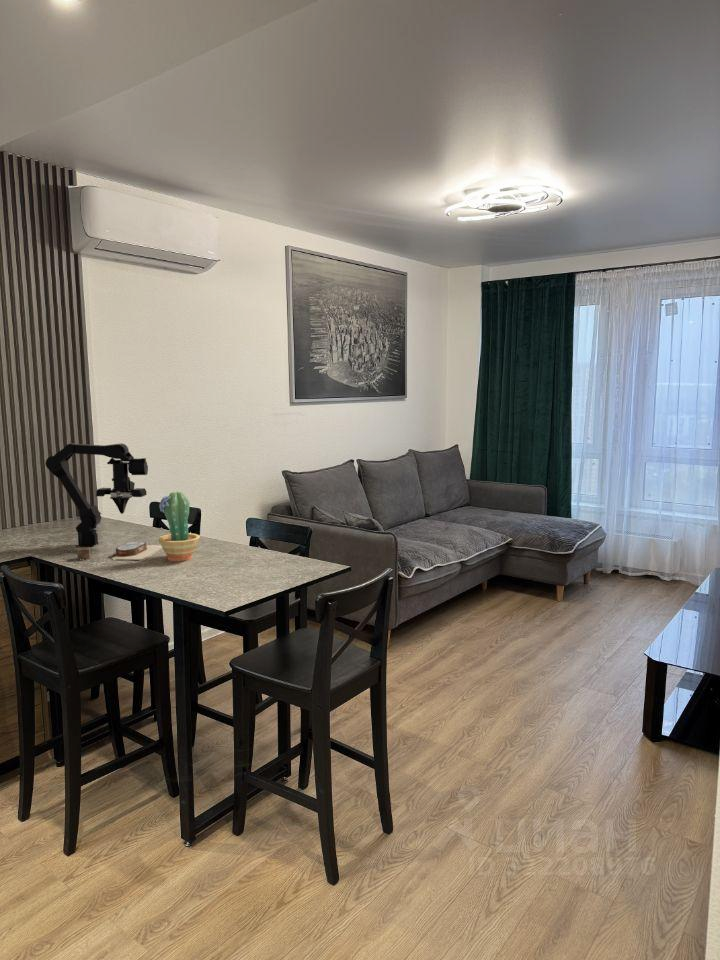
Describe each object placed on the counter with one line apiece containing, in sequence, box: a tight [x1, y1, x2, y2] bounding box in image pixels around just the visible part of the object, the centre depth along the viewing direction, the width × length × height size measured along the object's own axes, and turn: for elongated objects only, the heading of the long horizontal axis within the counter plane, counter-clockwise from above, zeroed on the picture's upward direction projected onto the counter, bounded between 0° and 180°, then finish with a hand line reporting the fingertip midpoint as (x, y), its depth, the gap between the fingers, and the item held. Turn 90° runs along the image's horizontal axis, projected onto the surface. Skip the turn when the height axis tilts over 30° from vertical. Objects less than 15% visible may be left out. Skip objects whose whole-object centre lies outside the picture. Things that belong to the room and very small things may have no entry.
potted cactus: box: [157, 491, 201, 562], centre depth 246 cm, size 15×15×25 cm
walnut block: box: [77, 547, 92, 561], centre depth 245 cm, size 4×4×4 cm
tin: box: [115, 541, 148, 557], centre depth 254 cm, size 15×3×8 cm
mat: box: [111, 544, 163, 562], centre depth 254 cm, size 12×22×1 cm, turn 176°
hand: (122, 513), depth 266 cm, fingers closed
